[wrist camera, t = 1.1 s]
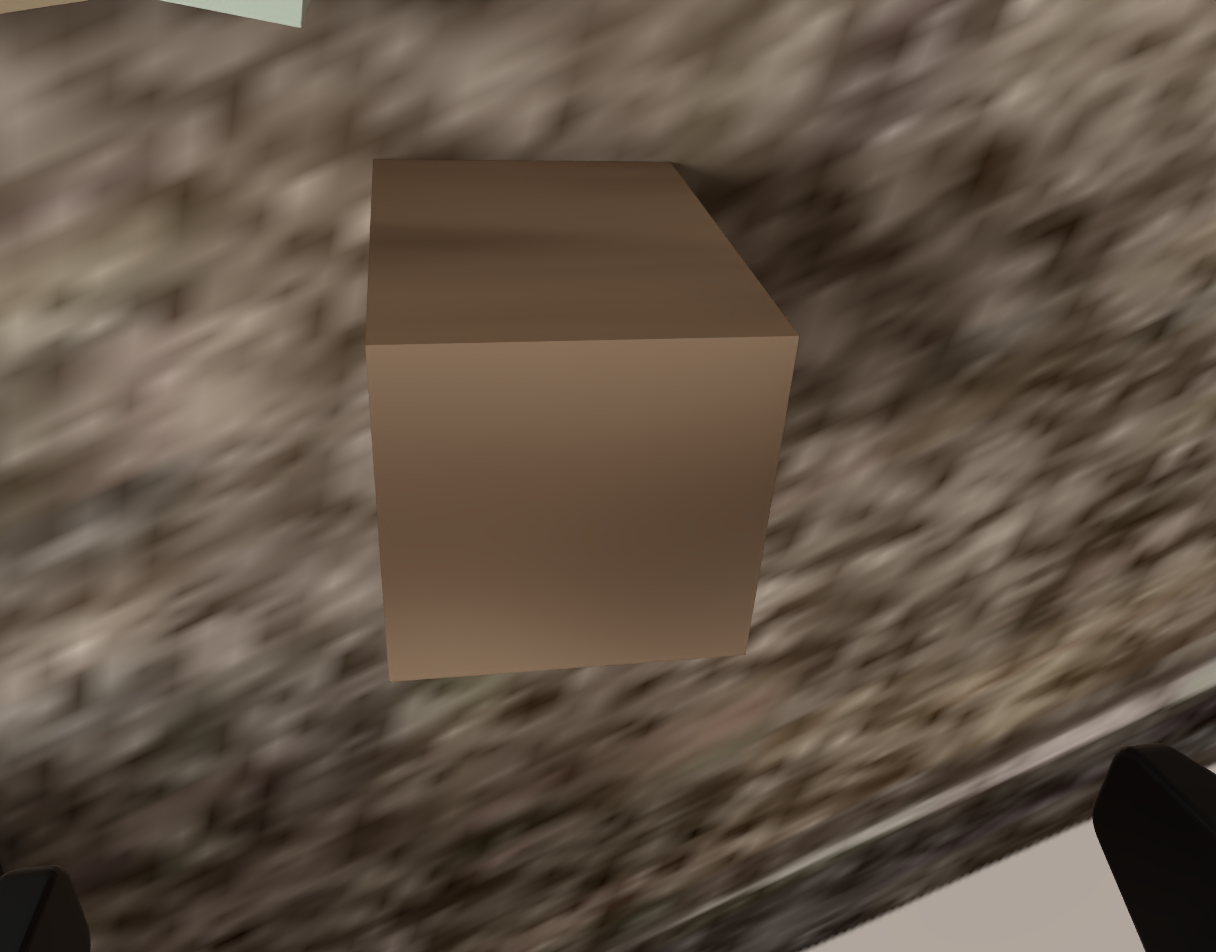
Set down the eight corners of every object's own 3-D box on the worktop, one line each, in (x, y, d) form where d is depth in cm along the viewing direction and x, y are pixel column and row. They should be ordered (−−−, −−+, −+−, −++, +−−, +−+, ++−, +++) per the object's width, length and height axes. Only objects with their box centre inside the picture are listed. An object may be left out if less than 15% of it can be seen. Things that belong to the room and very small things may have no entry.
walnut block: (647, 414, 21) (745, 654, 15) (389, 424, 20) (389, 682, 14) (670, 161, 18) (799, 336, 13) (373, 158, 17) (364, 345, 12)
